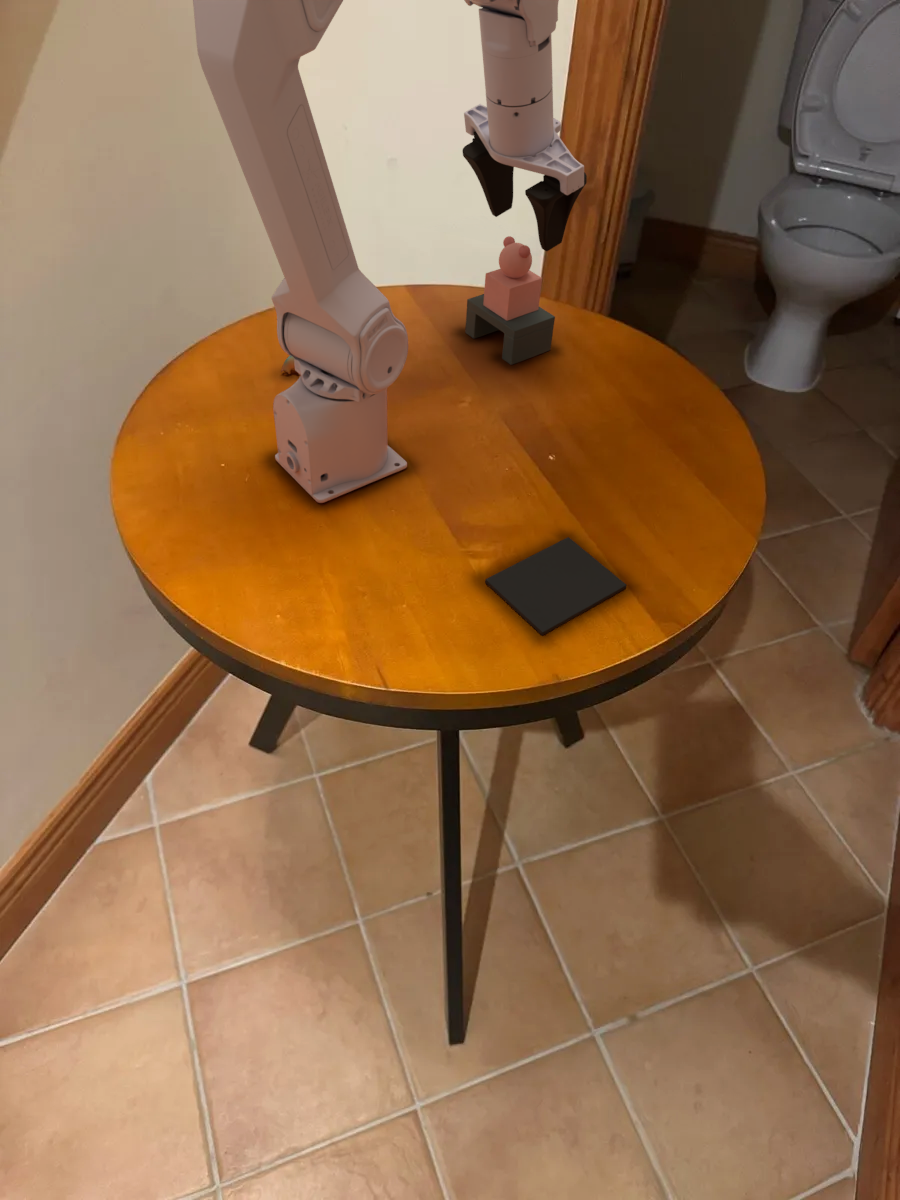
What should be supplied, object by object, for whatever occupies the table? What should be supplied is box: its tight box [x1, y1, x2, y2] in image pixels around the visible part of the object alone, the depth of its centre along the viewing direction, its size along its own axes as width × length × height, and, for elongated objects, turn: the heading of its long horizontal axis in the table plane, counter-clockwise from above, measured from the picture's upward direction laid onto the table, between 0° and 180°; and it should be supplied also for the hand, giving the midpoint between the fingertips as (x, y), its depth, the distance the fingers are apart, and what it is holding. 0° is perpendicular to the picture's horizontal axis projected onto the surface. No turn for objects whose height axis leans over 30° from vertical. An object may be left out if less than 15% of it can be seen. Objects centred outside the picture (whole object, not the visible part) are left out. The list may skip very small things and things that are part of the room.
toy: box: [483, 235, 543, 321], centre depth 94 cm, size 4×4×7 cm
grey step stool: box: [464, 293, 556, 366], centre depth 98 cm, size 6×8×4 cm
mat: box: [484, 536, 628, 636], centre depth 73 cm, size 9×7×1 cm
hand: (526, 227), depth 89 cm, fingers open, 7 cm apart
